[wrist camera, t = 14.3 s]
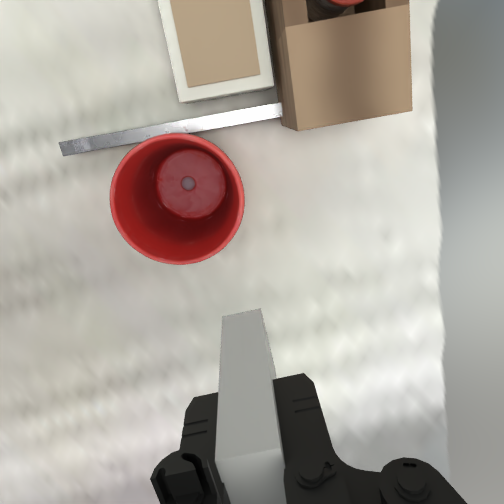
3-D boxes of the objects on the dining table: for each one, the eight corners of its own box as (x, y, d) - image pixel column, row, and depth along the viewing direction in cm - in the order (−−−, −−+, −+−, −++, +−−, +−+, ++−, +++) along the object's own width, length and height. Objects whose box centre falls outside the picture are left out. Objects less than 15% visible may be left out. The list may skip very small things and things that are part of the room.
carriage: (187, 103, 38) (178, 102, 32) (159, -31, 34) (143, -57, 29) (269, 88, 37) (274, 84, 32) (250, -49, 34) (252, -78, 28)
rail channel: (82, 151, 39) (63, 156, 35) (22, -40, 34) (-8, -62, 30) (280, 115, 39) (285, 116, 34) (252, -85, 33) (254, -114, 29)
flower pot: (120, 151, 39) (83, 163, 30) (222, 112, 38) (216, 112, 29) (162, 245, 43) (141, 282, 34) (258, 212, 42) (262, 241, 33)
